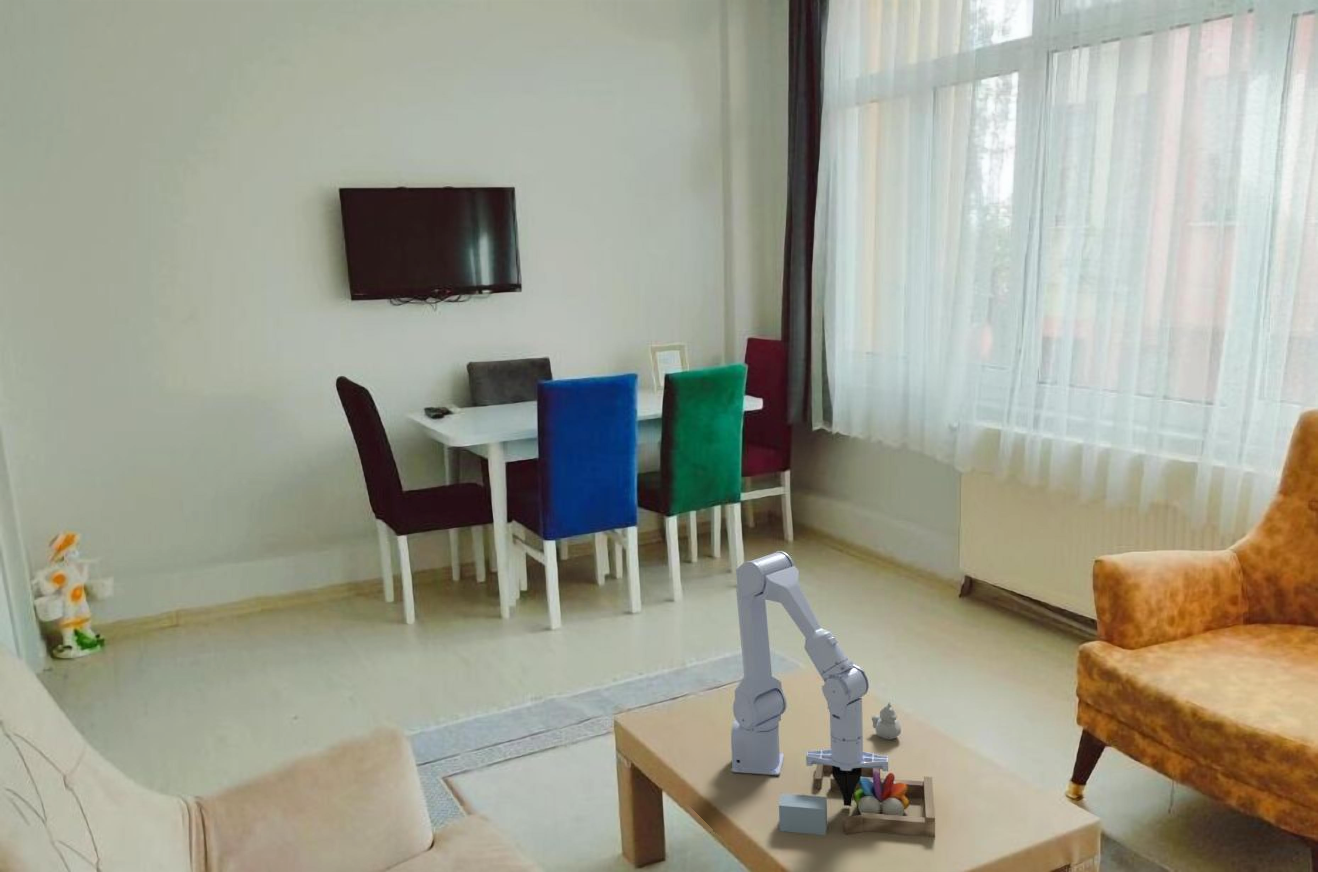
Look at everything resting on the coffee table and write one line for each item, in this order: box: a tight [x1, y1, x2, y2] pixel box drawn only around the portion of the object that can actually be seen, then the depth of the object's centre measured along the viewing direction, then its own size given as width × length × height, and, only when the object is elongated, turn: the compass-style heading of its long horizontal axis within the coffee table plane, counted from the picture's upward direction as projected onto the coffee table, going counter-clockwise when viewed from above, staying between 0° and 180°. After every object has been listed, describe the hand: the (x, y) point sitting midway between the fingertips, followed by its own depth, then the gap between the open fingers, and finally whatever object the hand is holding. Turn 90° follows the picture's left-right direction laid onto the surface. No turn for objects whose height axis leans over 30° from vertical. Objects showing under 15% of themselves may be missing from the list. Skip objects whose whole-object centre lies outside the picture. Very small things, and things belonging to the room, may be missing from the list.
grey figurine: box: [871, 701, 902, 740], centre depth 200 cm, size 5×7×8 cm
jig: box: [814, 764, 936, 838], centre depth 177 cm, size 22×22×4 cm
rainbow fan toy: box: [853, 771, 910, 816], centre depth 174 cm, size 8×10×7 cm
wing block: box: [778, 792, 828, 836], centre depth 171 cm, size 8×4×5 cm, turn 76°
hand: (847, 802), depth 176 cm, fingers closed
